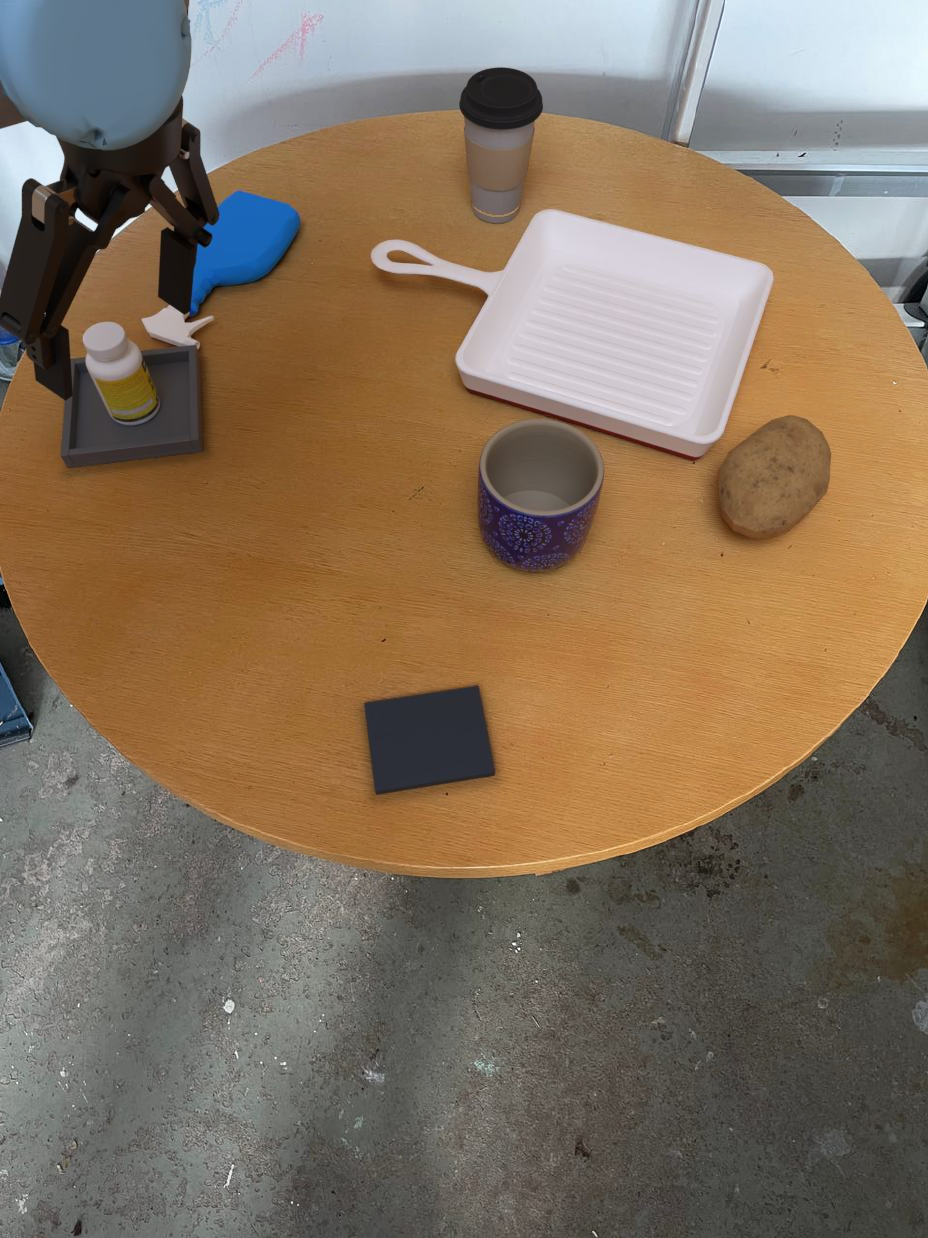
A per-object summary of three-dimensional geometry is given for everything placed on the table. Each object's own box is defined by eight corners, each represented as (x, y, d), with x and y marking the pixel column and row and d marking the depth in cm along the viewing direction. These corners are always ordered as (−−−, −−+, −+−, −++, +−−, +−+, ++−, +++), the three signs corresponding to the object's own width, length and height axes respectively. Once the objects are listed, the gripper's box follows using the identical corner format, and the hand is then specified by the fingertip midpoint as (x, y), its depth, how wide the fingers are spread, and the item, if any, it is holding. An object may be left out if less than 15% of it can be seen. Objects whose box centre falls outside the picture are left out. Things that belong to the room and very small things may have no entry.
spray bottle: (227, 184, 106) (115, 315, 95) (307, 206, 104) (202, 342, 93) (233, 205, 109) (125, 335, 98) (311, 227, 107) (209, 363, 96)
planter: (599, 579, 82) (618, 507, 72) (485, 593, 81) (490, 523, 71) (574, 488, 87) (589, 410, 78) (467, 500, 86) (469, 423, 77)
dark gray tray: (67, 468, 88) (60, 456, 86) (74, 371, 95) (67, 358, 93) (203, 451, 89) (198, 439, 88) (200, 357, 96) (195, 344, 94)
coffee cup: (464, 182, 111) (465, 59, 98) (537, 189, 111) (548, 66, 98) (453, 229, 107) (453, 107, 94) (529, 236, 106) (540, 115, 93)
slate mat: (375, 795, 71) (375, 791, 71) (364, 707, 75) (363, 702, 74) (494, 776, 72) (495, 771, 71) (478, 689, 76) (478, 685, 75)
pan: (706, 477, 88) (719, 446, 84) (321, 359, 96) (315, 325, 92) (765, 299, 101) (778, 265, 97) (422, 208, 109) (421, 172, 105)
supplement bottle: (171, 409, 91) (142, 337, 83) (126, 435, 90) (91, 364, 81) (144, 381, 93) (113, 308, 85) (99, 405, 92) (63, 333, 83)
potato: (680, 531, 85) (700, 479, 78) (745, 442, 90) (769, 386, 84) (770, 581, 82) (800, 532, 75) (832, 486, 88) (864, 432, 81)
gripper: (7, 195, 44) (38, 459, 61) (291, 51, 58) (252, 298, 76) (-115, 111, 44) (-49, 399, 61) (200, -12, 58) (181, 249, 76)
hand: (117, 343), depth 68 cm, fingers open, 13 cm apart
